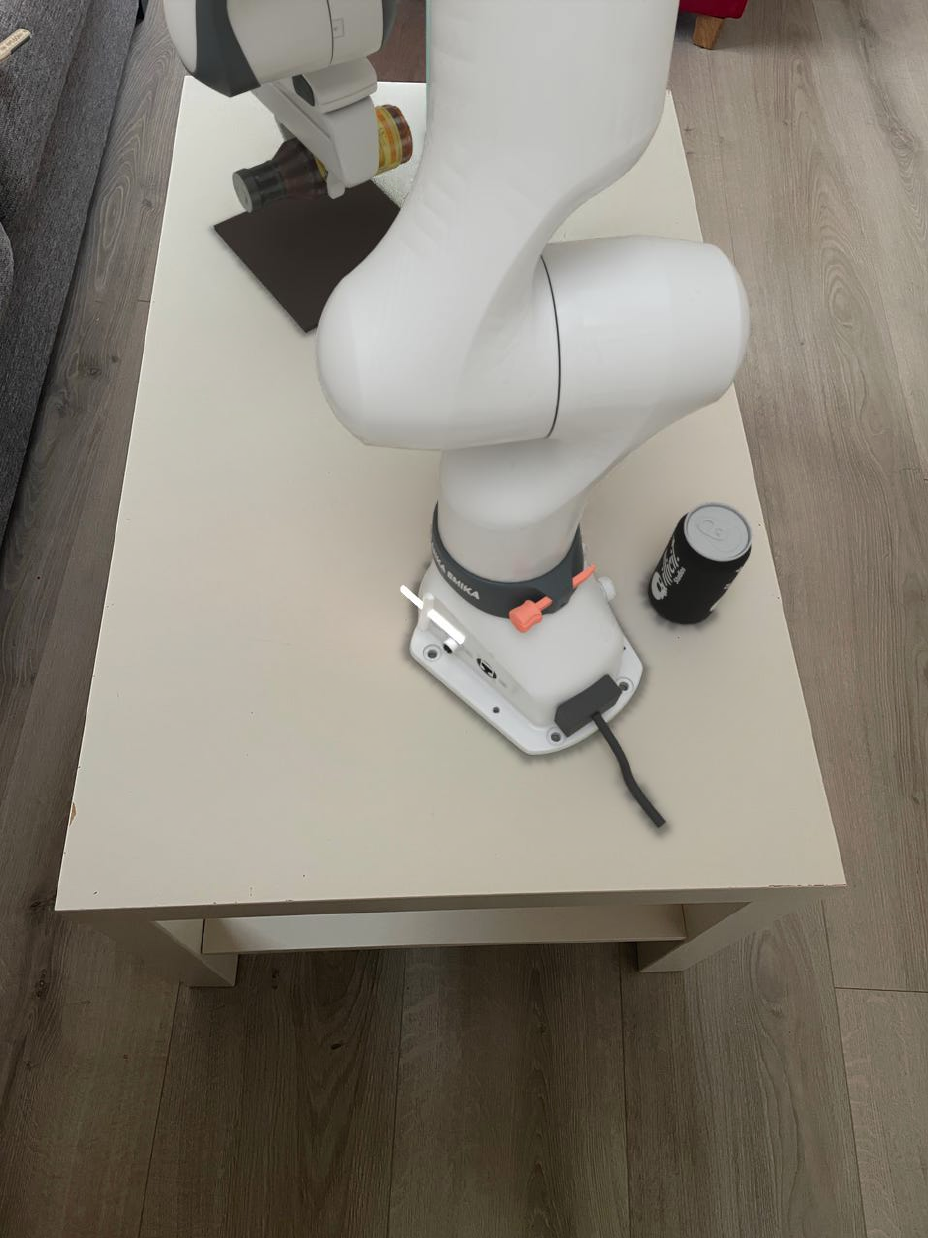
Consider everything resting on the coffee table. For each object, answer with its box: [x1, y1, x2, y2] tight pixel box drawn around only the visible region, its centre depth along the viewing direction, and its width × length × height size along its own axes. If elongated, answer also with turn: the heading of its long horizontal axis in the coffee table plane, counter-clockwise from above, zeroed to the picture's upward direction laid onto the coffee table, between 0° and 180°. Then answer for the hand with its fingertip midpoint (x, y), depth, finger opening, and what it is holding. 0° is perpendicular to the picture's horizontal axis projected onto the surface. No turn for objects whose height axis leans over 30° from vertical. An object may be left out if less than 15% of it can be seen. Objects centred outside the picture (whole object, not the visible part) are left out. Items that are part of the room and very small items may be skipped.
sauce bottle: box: [231, 103, 414, 213], centre depth 92 cm, size 6×6×20 cm
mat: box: [213, 178, 401, 333], centre depth 101 cm, size 20×20×1 cm
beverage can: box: [647, 501, 754, 625], centre depth 76 cm, size 7×7×12 cm
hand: (315, 173), depth 92 cm, fingers closed on sauce bottle, 6 cm apart
